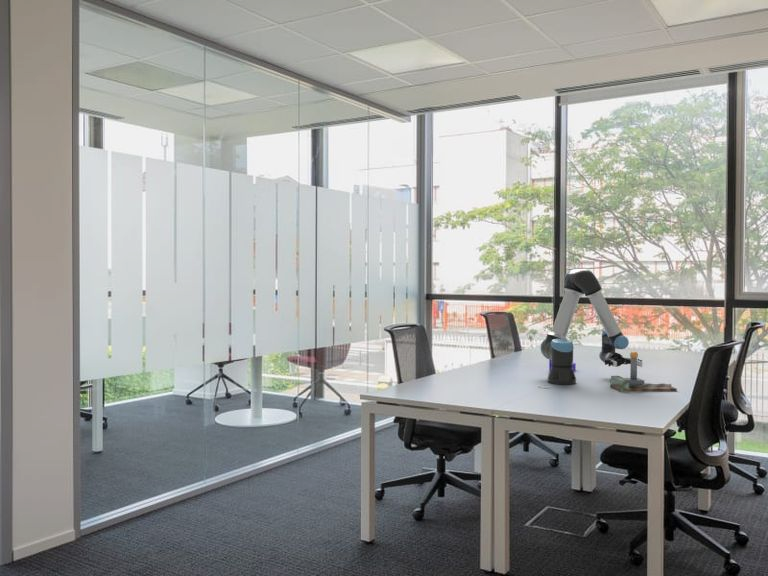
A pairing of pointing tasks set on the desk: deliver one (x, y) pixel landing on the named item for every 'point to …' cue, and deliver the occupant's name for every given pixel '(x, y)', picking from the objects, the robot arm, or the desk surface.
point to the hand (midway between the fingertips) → (629, 364)
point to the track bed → (623, 386)
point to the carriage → (634, 371)
